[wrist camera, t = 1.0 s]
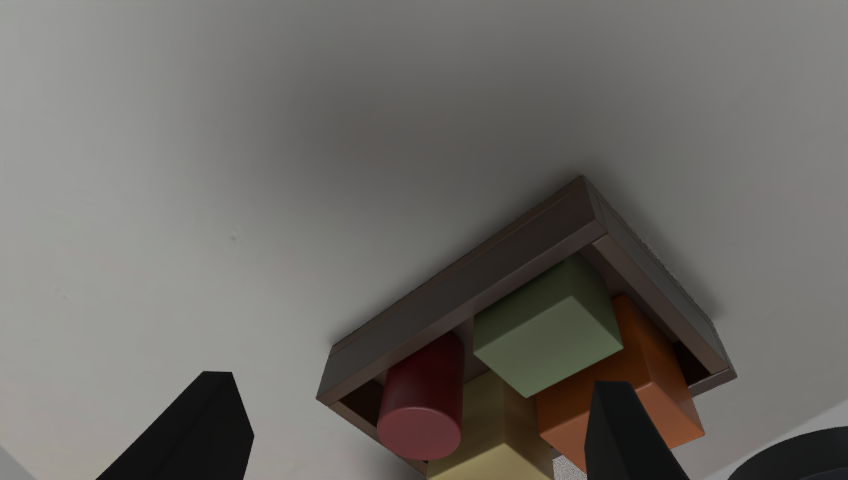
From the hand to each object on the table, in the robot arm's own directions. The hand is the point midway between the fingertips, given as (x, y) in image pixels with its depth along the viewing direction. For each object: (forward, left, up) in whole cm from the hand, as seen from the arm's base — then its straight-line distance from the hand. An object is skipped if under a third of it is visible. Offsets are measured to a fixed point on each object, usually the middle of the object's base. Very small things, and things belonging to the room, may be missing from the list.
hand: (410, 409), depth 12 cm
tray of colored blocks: (-6, +2, -9) cm, 11 cm away
